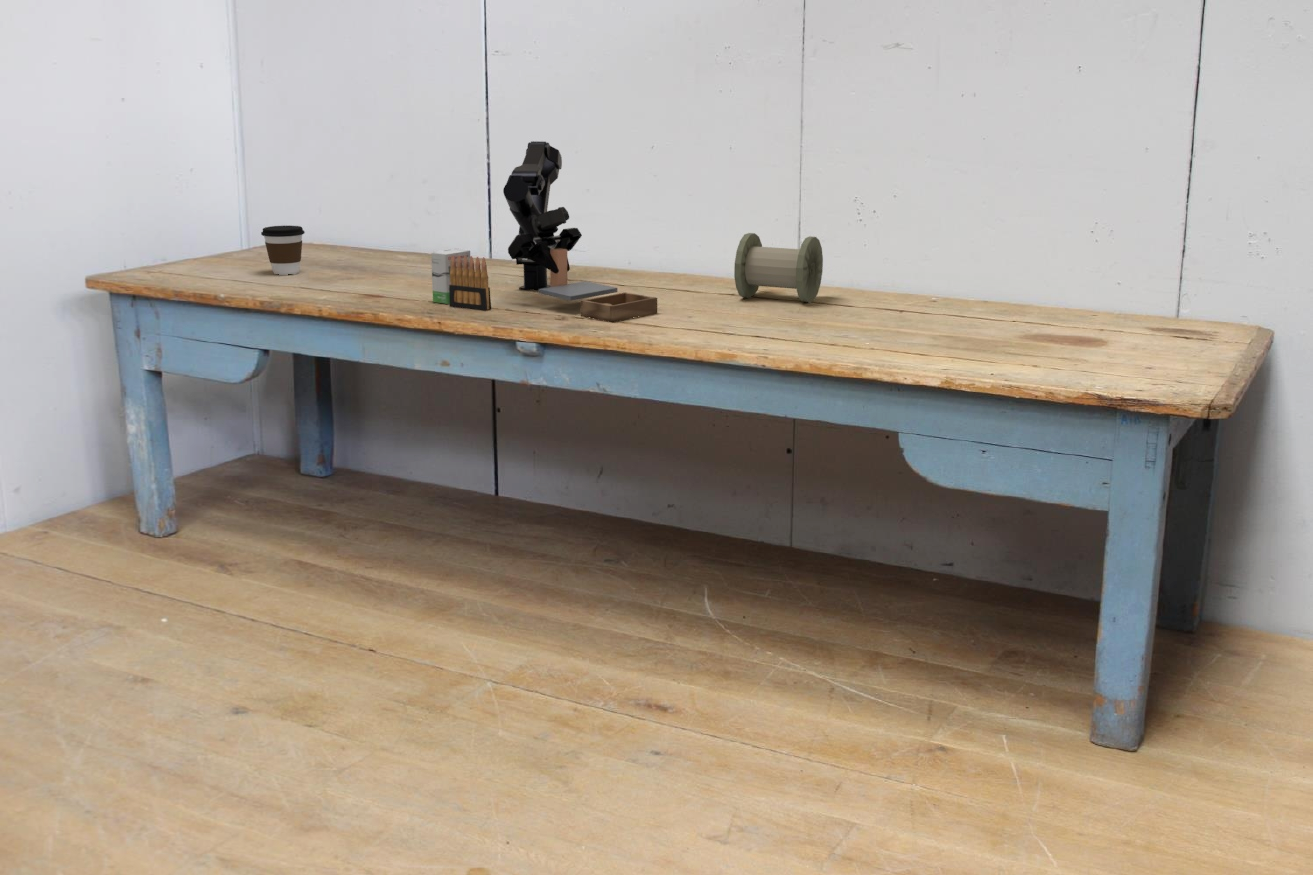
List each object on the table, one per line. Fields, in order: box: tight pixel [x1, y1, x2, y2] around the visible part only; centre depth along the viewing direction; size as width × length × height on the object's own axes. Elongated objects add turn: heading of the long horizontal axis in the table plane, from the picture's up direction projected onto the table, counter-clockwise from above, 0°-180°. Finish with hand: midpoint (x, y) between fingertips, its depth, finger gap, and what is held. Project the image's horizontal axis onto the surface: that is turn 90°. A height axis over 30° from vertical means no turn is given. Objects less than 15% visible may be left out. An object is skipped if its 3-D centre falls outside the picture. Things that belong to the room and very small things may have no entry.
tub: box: [580, 292, 658, 323], centre depth 286 cm, size 10×14×4 cm
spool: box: [733, 232, 824, 304], centre depth 303 cm, size 16×15×15 cm
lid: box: [538, 248, 618, 302], centre depth 294 cm, size 13×15×9 cm
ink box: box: [430, 248, 471, 305], centre depth 302 cm, size 9×5×12 cm, turn 144°
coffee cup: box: [261, 225, 306, 276], centre depth 340 cm, size 11×11×12 cm
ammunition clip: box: [448, 254, 492, 312], centre depth 293 cm, size 11×2×12 cm, turn 60°
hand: (563, 271), depth 297 cm, fingers closed on lid, 3 cm apart
